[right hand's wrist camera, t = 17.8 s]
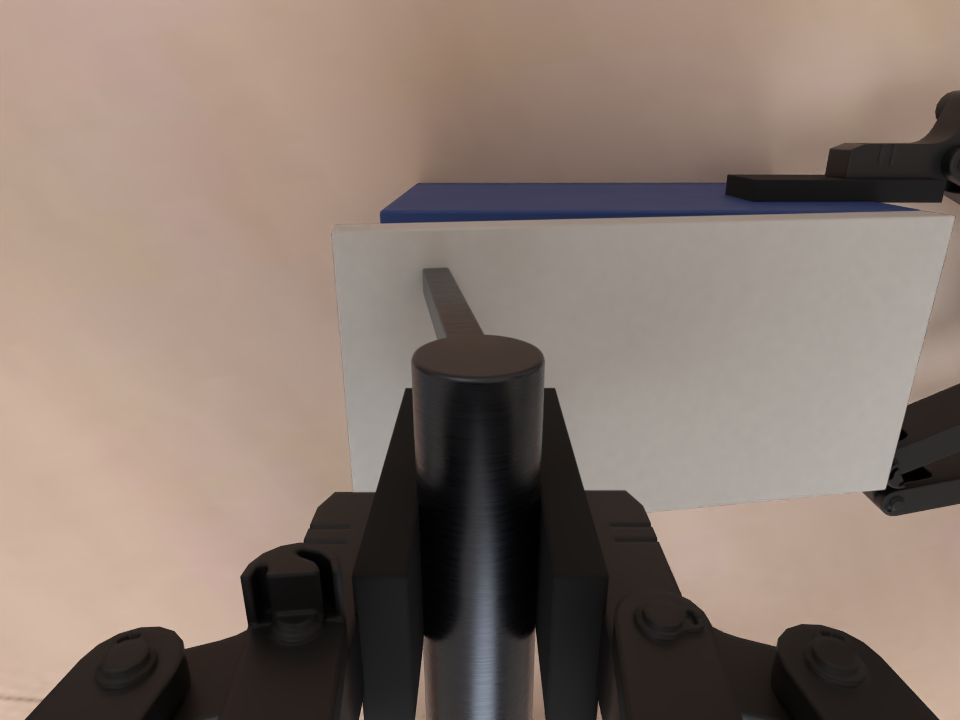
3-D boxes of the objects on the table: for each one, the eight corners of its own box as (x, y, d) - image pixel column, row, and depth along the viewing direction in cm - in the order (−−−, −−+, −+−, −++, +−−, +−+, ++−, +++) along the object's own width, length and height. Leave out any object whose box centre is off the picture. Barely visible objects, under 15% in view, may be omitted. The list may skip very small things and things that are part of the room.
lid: (357, 517, 20) (344, 823, 11) (333, 224, 17) (288, 327, 8) (860, 471, 22) (1170, 689, 14) (922, 210, 19) (1379, 276, 10)
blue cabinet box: (423, 363, 33) (393, 469, 23) (416, 183, 30) (379, 210, 19) (744, 364, 33) (862, 470, 22) (773, 182, 29) (924, 210, 19)
